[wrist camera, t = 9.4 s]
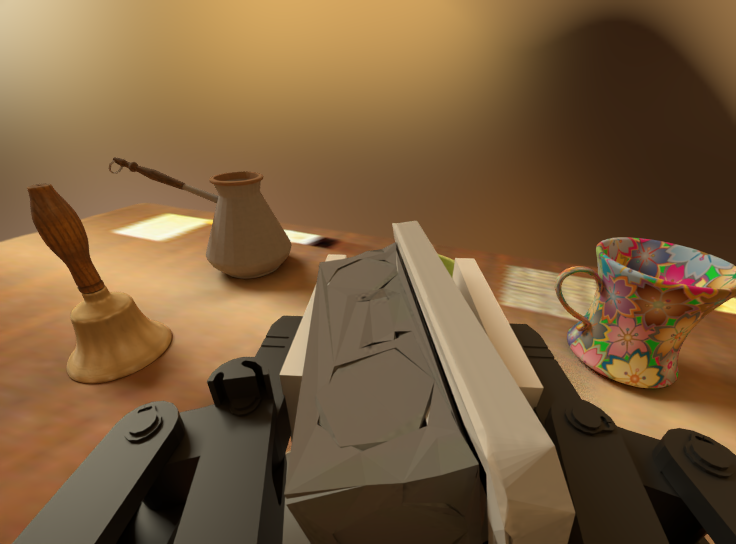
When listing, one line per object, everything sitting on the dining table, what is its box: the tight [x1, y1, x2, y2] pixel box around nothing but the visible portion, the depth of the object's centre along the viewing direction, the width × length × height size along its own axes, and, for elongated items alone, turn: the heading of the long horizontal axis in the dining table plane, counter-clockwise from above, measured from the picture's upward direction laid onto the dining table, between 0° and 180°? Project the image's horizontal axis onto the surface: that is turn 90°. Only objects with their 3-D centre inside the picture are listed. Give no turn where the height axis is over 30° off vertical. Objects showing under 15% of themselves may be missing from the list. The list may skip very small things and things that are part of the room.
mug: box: [555, 238, 736, 388], centre depth 28 cm, size 12×9×11 cm
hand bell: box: [27, 183, 172, 383], centre depth 27 cm, size 8×8×16 cm
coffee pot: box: [109, 158, 291, 279], centre depth 42 cm, size 21×12×15 cm, turn 89°
